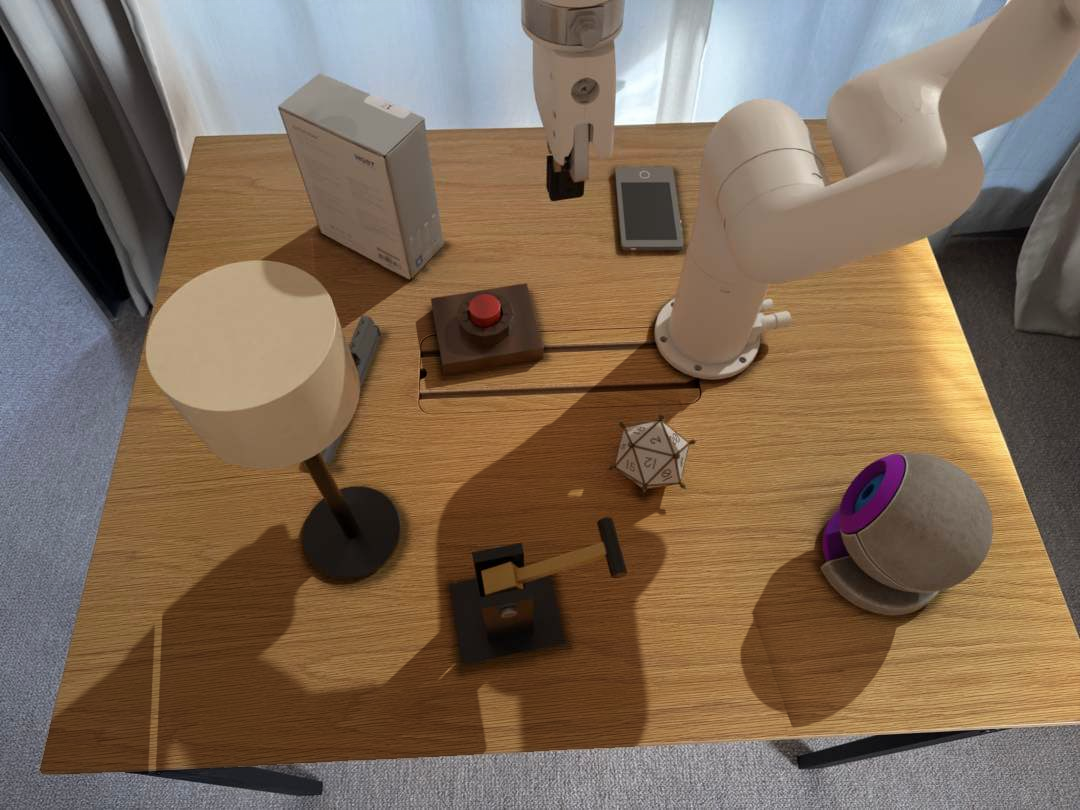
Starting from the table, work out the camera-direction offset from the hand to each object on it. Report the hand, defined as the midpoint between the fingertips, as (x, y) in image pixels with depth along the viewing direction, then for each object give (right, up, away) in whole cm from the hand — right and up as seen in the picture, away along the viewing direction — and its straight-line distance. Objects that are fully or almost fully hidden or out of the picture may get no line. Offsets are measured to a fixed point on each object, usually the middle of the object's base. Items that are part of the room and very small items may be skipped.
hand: (564, 192), depth 71 cm
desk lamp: (-22, -33, +9) cm, 41 cm away
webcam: (+33, -35, +9) cm, 49 cm away
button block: (-9, -11, +23) cm, 27 cm away
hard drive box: (-23, +2, +31) cm, 39 cm away
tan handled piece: (-1, -34, -4) cm, 34 cm away
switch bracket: (-6, -41, +5) cm, 41 cm away
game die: (+9, -27, +13) cm, 32 cm away
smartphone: (+12, +7, +33) cm, 36 cm away
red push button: (-9, -9, +20) cm, 23 cm away
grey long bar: (-24, -19, +18) cm, 36 cm away
